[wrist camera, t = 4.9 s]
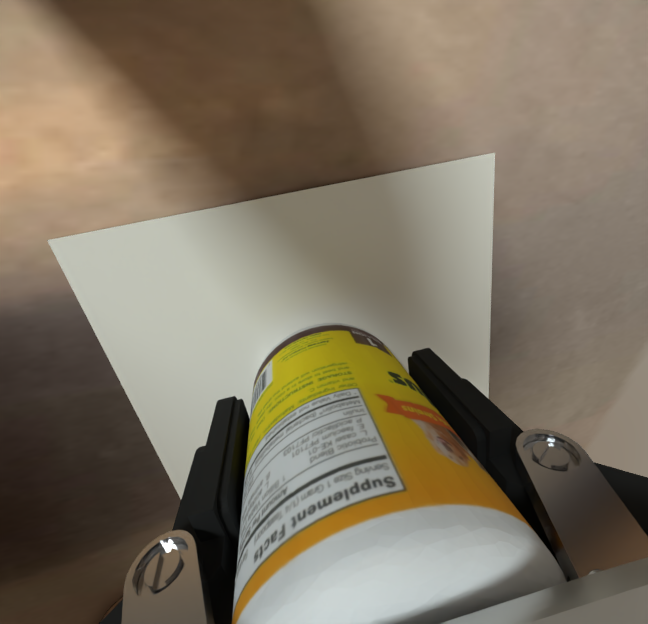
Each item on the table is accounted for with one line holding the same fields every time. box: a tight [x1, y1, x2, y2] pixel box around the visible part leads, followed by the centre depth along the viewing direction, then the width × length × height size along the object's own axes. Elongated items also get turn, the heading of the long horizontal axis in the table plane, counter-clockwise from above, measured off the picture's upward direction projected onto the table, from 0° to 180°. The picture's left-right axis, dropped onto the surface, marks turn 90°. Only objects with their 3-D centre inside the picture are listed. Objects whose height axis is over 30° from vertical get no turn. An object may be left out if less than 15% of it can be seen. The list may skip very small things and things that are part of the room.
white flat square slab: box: [47, 153, 495, 499], centre depth 12 cm, size 14×14×1 cm
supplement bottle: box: [232, 323, 567, 624], centre depth 7 cm, size 6×6×10 cm
